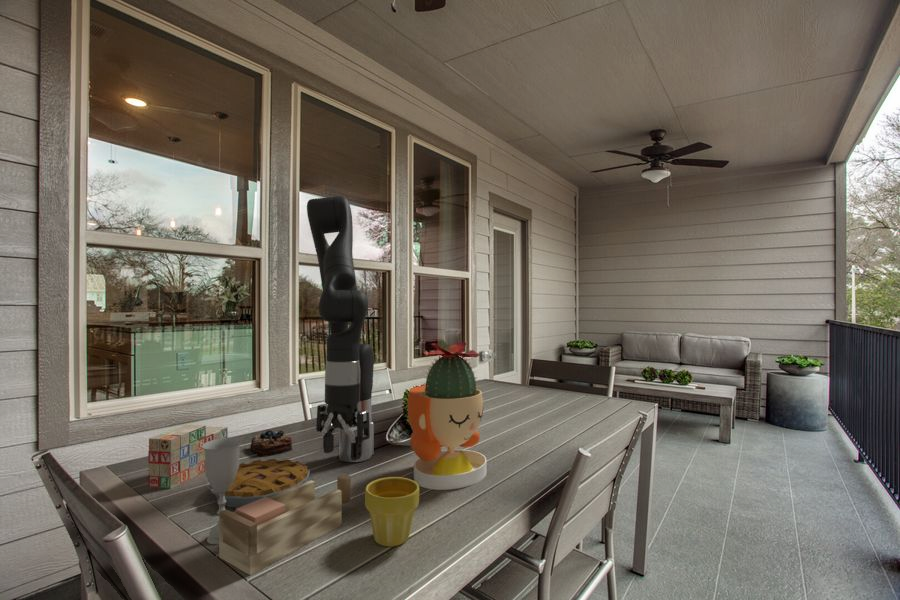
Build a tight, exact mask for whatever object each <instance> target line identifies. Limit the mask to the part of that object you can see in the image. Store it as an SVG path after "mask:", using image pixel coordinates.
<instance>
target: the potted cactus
mask: <svg viewBox="0 0 900 600" xmlns="http://www.w3.org/2000/svg"><path fill="white" fill-rule="evenodd" d="M429 345H431V347H432V348H434V349H436V350H430V351H427V350H425V351H424V352H423V354H424V355H425V356H429V357H437V358H434V360H433V361H431V362H430V365H428V368H427V369H428V371H426V372H425V373H426V374H427V375H426V376H425V379H426V380H425V382H423V383H422V385H420V386H414V387H412V388H410V389H409V390H408V391H409V392H408V396H407V417H408V422H409V425H410V428H411V430H412V433H411V435H410V447H411V450H412V451H413V452H414V453H415V456H417V457H418V459H417V460H416V461H415V462H414V464H413V481H415V482H416V483H417V484H418V485H419V487H421V488H424V489H427V490H428V489H429V490H438V491H444V490H446V491H447V490H456V489H462V488H466V487H470V486H472V485H474V484H475V485H476V484H477V483H479V482H481V481H482V480H483V479H484V478H485V477H486V476H487V473H488V472H487V466H488V465H487V457H486V456H485V455H484V454H482V453H481V452H478V451H476V450H475V451H474V450H469V449H456V447H461V448H471V447H472V448H473V447H474V446H476V445H477V444H478V443H479V442H480V433H479V431H478V428H479V426H480V424H481V420H482V417H483V414H484V400H483V392H482V390H480V388H479V387H478V386H477V385H478V383H479V381H478V380H477V379H478V377H477V376H476V373H477V372H476V371H474V370H473V369H474V368H475V367H474V366H475V365H472V366H471V362H468V360H469V359H468V358H478V357H479V356H480V353H479V352H476V350H474V349H471V350H468V351H466V352H465V347H466V346H467V343H466V342H465V341H462V342H460V343H457V342H455V343H453V344H452V345H450V346H448V345H446V346H445V349H444V348H443V347H440V346H439V345H438V344H437V343H436V342H435V343H432V342H431V343H429ZM431 365H432V366H431ZM442 447H445V448H447V450H442Z"/></svg>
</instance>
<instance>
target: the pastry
mask: <svg viewBox="0 0 900 600" xmlns="http://www.w3.org/2000/svg"><path fill="white" fill-rule="evenodd" d="M292 439H293V438H292V437H291V436H289V435H286V434H285V433H284V431H283V430H279V431H274V430H272V429H267V431H266V432H262V433H261V434H257V435H254V436H253V437H252V439H251V443H250V445H249V446H250V450H251V451H252V452H253V453H254V454H255V455H256V457H268V456H273V455H278V454H279V455H280V454H282V453H288V452H290V451H293V448H292V447H293V445H292V444H293V443H292Z"/></svg>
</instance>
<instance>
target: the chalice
mask: <svg viewBox="0 0 900 600" xmlns="http://www.w3.org/2000/svg"><path fill="white" fill-rule="evenodd" d="M242 442H243V440H242V439H241V438H239V437H227V438H221V439H216V440H212V441H209V442H206V443H204V444H203V445H202V448H203V450H204V451H205V471H204V473H205V476H206V479H207V481H208V484H209V485H211V487H212V489H213V490H214V492H217V493H219V496H220V497H219V501H218V500H217V502H216V503H217V504H218V506H219V507H218V508H219V509H218V510H217V512H216V514H217V515H219V512H221V511H223V510H227V509H226V507H225V506H226V505H225V503H226V500H225V496H224V495H225V491H227V490H229V489H230V487H231V485H232V483H233V481H234V479H235V476H236V474H237V471H238V468H239V464H240V446H241V443H242ZM206 542H207V543H208V544H210V545H219V521H218V522H217V523H215V524H214V525H213V526H212V527H211V529H210V532H209V535H208V537H207V539H206Z"/></svg>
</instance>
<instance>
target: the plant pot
mask: <svg viewBox="0 0 900 600" xmlns="http://www.w3.org/2000/svg"><path fill="white" fill-rule="evenodd" d="M364 491H365V492H364V505H365V508H366V510H367V511H368V513H369V517H370V524H371V528H372V529H371V530H372V533H373V539H374V541H375V542H376V544H378V545H380V546H382V547H398V546H400V545H403V544H405V543H406V542H408V540H409V537H410V533H411V528H412V524H413V519H414V514H415V510H416V509H417V508H418V506H419V503H420V486H419V485H418V484H417V483H416V482H415V481H414V479H413V480H412V479H410V478H408V477H407V478H406V477H403V476H402V477H400V476H388V477H382V478H376V479H375V480H372V481H370V482H369V483H368V484H367V485H366V486H365V489H364Z"/></svg>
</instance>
